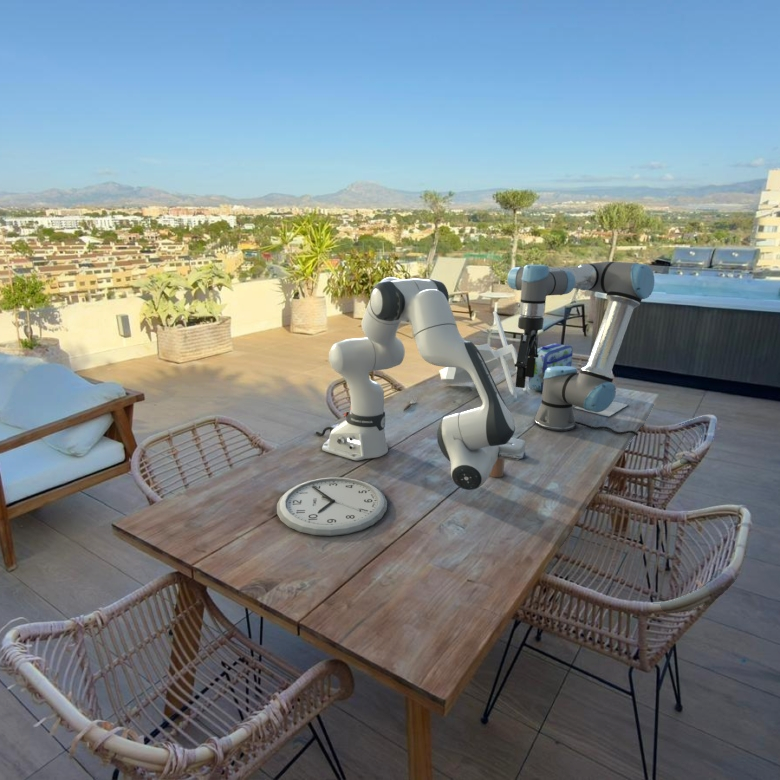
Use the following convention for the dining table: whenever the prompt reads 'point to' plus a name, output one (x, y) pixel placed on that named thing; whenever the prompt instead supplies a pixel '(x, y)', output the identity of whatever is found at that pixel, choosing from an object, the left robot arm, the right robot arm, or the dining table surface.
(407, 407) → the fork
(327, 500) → the wall clock
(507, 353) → the white plastic object
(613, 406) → the invitation card
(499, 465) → the jar
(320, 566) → the dining table surface
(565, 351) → the lunch box
